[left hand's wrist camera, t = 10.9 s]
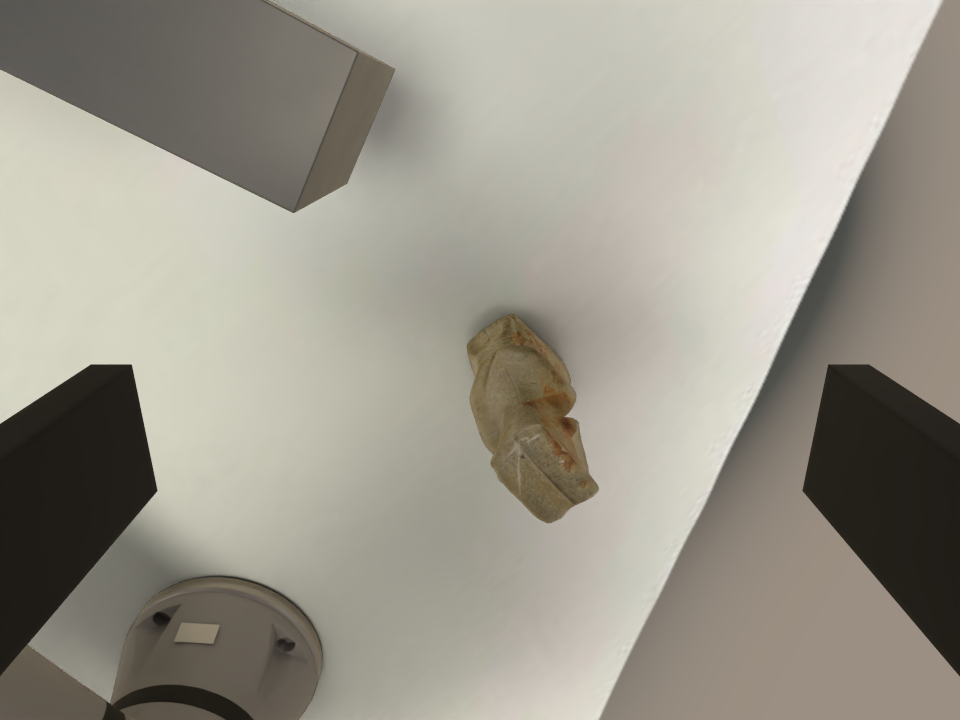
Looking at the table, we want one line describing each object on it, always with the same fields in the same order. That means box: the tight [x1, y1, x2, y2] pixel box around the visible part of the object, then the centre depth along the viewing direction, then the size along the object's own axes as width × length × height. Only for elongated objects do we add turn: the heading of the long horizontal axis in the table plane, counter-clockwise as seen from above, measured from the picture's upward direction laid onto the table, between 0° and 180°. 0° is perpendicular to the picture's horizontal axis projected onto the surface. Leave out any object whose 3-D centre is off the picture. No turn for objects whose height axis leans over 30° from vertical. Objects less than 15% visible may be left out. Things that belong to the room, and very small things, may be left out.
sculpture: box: [467, 314, 599, 523], centre depth 37 cm, size 6×7×15 cm
